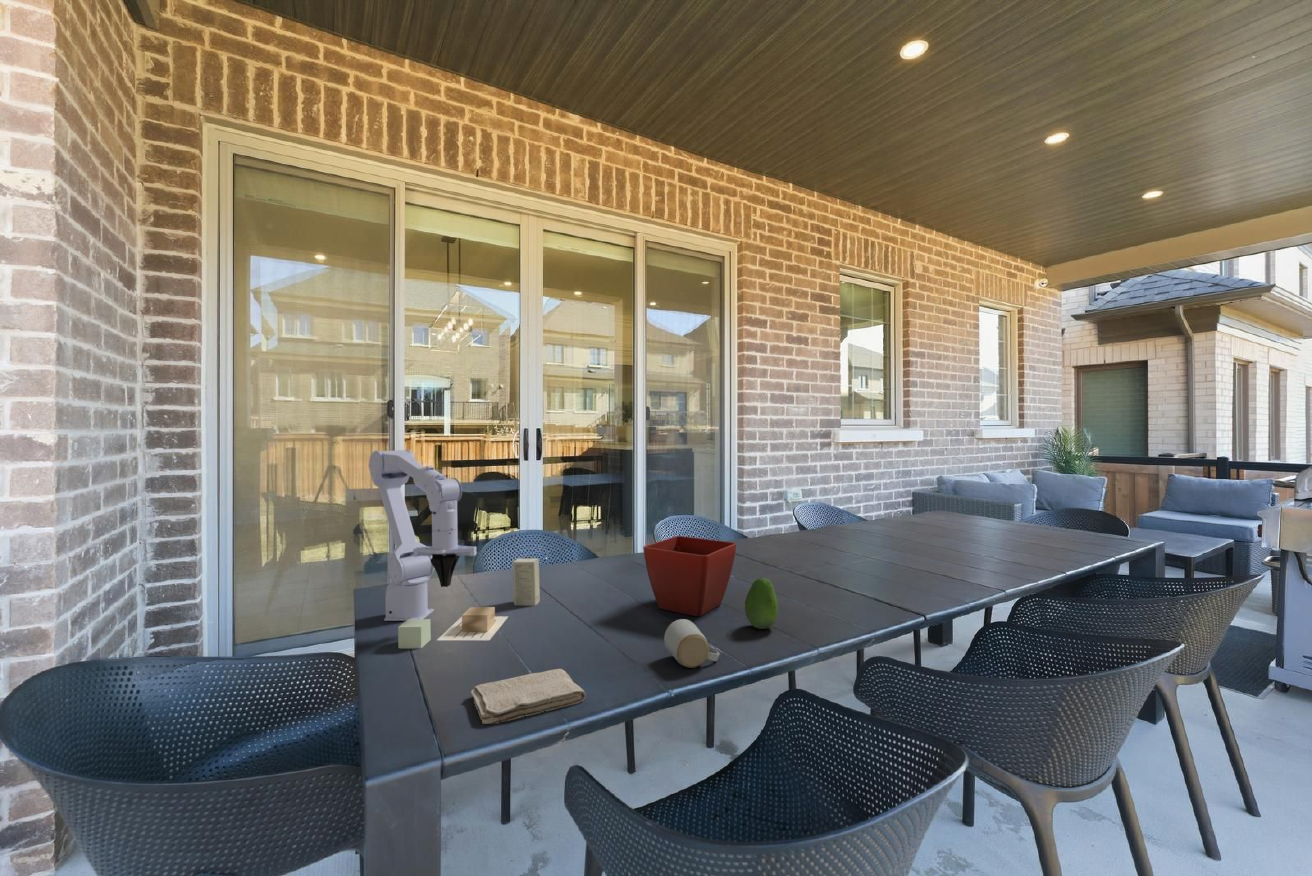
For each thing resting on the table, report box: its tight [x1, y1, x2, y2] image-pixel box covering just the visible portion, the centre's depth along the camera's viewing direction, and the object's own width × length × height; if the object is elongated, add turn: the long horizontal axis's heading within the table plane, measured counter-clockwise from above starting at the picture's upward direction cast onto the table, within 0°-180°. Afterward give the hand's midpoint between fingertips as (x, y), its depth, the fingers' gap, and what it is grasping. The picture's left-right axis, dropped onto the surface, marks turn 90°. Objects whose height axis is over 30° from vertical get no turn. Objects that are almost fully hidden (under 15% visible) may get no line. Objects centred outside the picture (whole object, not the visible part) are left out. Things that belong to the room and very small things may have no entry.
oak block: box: [461, 606, 496, 632], centre depth 133 cm, size 6×6×4 cm
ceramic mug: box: [663, 618, 720, 669], centre depth 114 cm, size 11×8×8 cm
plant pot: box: [642, 535, 737, 617], centre depth 149 cm, size 19×19×17 cm
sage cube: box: [397, 618, 432, 649], centre depth 123 cm, size 5×5×5 cm
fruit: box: [744, 577, 779, 630], centre depth 133 cm, size 8×8×12 cm
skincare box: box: [512, 557, 541, 607], centre depth 152 cm, size 6×4×12 cm
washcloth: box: [470, 668, 587, 725], centre depth 98 cm, size 12×18×3 cm, turn 119°
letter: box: [436, 615, 509, 642], centre depth 133 cm, size 12×16×1 cm
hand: (445, 585), depth 133 cm, fingers closed
